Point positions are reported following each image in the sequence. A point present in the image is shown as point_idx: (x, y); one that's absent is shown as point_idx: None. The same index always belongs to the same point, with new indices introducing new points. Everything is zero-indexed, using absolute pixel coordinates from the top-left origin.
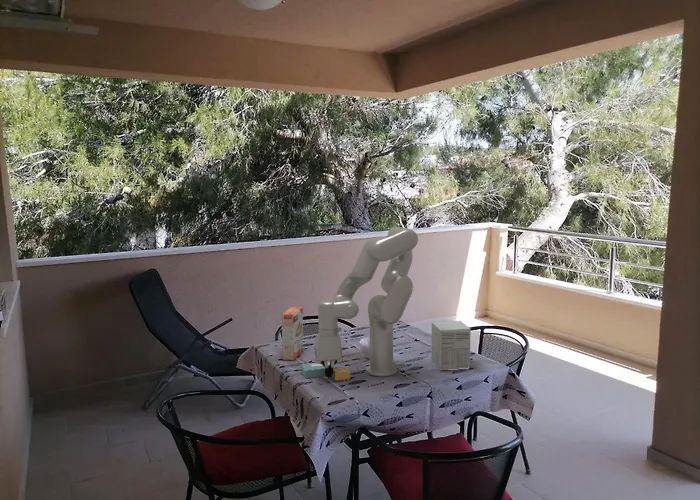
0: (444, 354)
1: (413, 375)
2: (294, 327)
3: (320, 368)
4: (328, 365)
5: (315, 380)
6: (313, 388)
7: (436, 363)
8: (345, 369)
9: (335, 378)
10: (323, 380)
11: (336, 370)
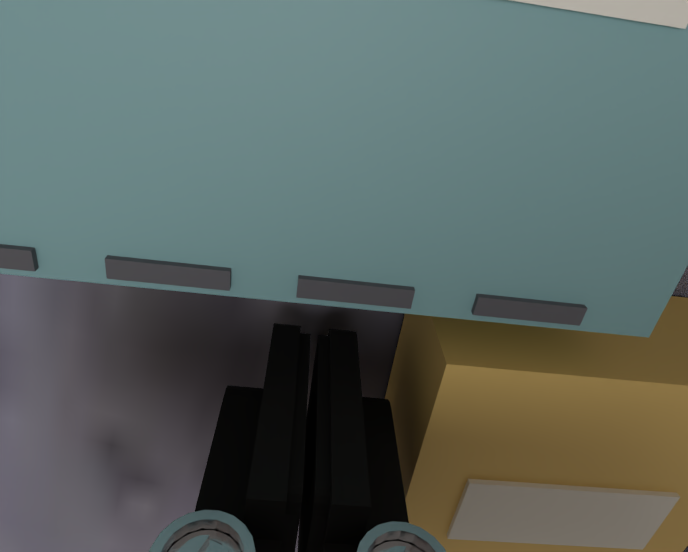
0: None
1: None
2: None
3: (129, 212)
4: (475, 42)
5: (51, 336)
6: (10, 548)
7: None
8: (677, 477)
9: None
10: (194, 378)
11: (472, 483)
